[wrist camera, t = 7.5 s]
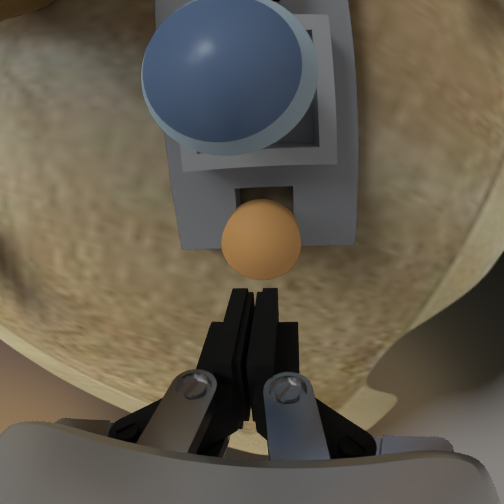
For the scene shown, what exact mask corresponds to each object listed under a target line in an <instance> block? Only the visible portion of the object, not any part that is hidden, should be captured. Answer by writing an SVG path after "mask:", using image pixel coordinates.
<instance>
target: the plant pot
mask: <svg viewBox="0 0 504 504" xmlns="http://www.w3.org/2000/svg"><path fill="white" fill-rule="evenodd" d="M54 1H55V0H0V21H2V20H5V19H8V18H12V17H15V16H19V15H22V14H25V13H29V12H32V11H35V10H39V9H42V8H44V7H46V6H48V5H49V4H51V3H52V2H54Z"/></svg>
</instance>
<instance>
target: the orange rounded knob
mask: <svg viewBox="0 0 504 504" xmlns="http://www.w3.org/2000/svg"><path fill="white" fill-rule="evenodd" d="M221 245H222V251H223V254H224V257H225V259H226V261H227V262H228V264H229V265H230V266H231V267H232V268H233V269H234V270H235V271H236V272H238V273H239V274H241V275H243V276H245V277H248V278H251V279H256V280H269V279H274V278H277V277H279V276H282V275H283V274H285V273H286V272H288V271H289V270H290V269H291V268H292V267H293V266H294V265H295V263H296V262H297V260H298V258H299V255H300V251H301V238H300V230H299V225H298V222H297V220H296V218H295V216H294V215H293V213H292V212H291V211H290V210H289V209H288V208H287V207H285V206H284V205H282V204H281V203H279V202H276V201H274V200H271V199H267V198H263V199H255V200H250V201H248V202H245V203H244V204H242V205H240V206H239V207H238V208H237V209H236V210H234V212H233V213H232V214H231V216H230V218H229V220H228V222H227V224H226V226H225V229H224V231H223V234H222V241H221Z"/></svg>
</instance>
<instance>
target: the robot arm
mask: <svg viewBox="0 0 504 504" xmlns="http://www.w3.org/2000/svg"><path fill="white" fill-rule="evenodd" d="M251 409H252V417H253V421H255V422H256V430H257V432H258V433H259V434H260V435H261V436H263V437H264V438H265V439H266V440H267V445H268V455H269V460H249V459H233V458H223V457H224V454H225V451H226V449H227V446H228V443H229V440H230V435H231V434H233V433H234V432H236V431H237V430H238V429H242V428H243V421H249V417H250V410H251ZM0 504H500V500H499V497H498V494H497V491H496V488H495V486H494V483H493V481H492V479H491V476H490V475H489V473H488V471H487V470H486V468H485V466H484V465H483V464H482V463H481V462H480V461H479V460H477V459H476V458H473V457H471V456H469V455H465V454H461V453H456V452H454V449H453V446H452V445H451V443H450V442H449V441H448V440H446V439H444V438H441V437H415V436H391V435H383V437H382V438H379V437H378V438H377V437H372V436H371V435H370V434H369V433H368V432H366V431H365V430H363V429H362V428H360V427H359V426H357V425H355V424H354V423H352V422H351V421H349V420H348V419H346V418H345V417H343V416H342V415H340V414H339V413H337V412H336V411H334V410H333V409H331V408H330V407H328V406H327V405H325V404H324V403H322V402H321V401H319V400H318V399H316V398H315V395H314V391H313V387H312V385H311V383H310V381H309V380H308V379H307V378H306V377H305V376H303V375H301V374H299V340H298V322H279V312H278V288H263V291H262V292H257V297H256V304H254V294H253V292H248V289H247V288H233V290H232V293H231V297H230V300H229V304H228V307H227V311H226V314H225V318H224V321H223V322H212V323H211V325H210V328H209V331H208V334H207V337H206V340H205V343H204V346H203V349H202V352H201V355H200V358H199V361H198V364H197V368H196V369H193V370H188V371H185V372H183V373H181V374H179V375H178V376H176V378H175V379H174V380H173V381H172V383H171V385H170V387H169V388H168V390H167V392H166V393H165V395H164V397H163V398H162V399H160V400H158V401H156V402H154V403H152V404H150V405H148V406H146V407H144V408H142V409H140V410H138V411H136V412H133V413H131V414H129V415H127V416H126V417H123V418H121V419H119V420H118V421H116V422H115V423H111V422H110V421H109V420H87V419H71V418H63V419H60V420H57V421H56V422H55V423H52V422H45V421H24V422H19V423H15V424H13V425H10V426H9V427H8V428H7V429H6V430H4V431H3V433H2V434H1V435H0Z"/></svg>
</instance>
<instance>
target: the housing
mask: <svg viewBox="0 0 504 504" xmlns="http://www.w3.org/2000/svg"><path fill="white" fill-rule="evenodd" d="M192 1H194V0H155V26H156V30H157V29H158V28H159V26H160V25H161V24H162V23H163V22H164V21H165V20H166V19H167V18H168V17H169V16H170V15H171V14H173V13H174V12H175V11H176V10H178V9H179V8H181V7H182V6H184V5H186V4H187V3H189V2H192ZM276 3H277V4H279V5H281V6H282V7H284V8H286V9H287V10H288V11H289V12H290V13H292V14H293V15H294V16H295V17H296V18H297V19H298V20H299V21H300V23H301V24H302V25H303V26H304V28H305V29H306V31H307V32H308V34H309V36H310V38H311V40H312V42H313V45H314V48H315V51H316V55H317V62H318V79H317V86H316V90H315V93H314V97H313V99H312V102H311V104H310V106H309V108H308V110H307V111H306V113H305V114H304V116H303V118H302V119H301V120H300V121H299V122H298V124H297V125H296V126H295V127H294V128H293V129H292V130H291V131H290V132H289V133H288V134H286V135H285V136H284V137H282V138H281V139H279V140H278V141H277V142H275V143H273V144H271V145H269V146H267V147H265V148H262V149H260V150H257V151H254V152H250V153H246V154H241V155H234V156H219V155H210V154H205V153H201V152H198V151H195V150H192V149H189V148H187V147H185V146H183V145H182V144H180V143H178V142H177V141H175V140H174V139H172V138H171V137H170V136H168V135H167V134H166V133H165V132H164V133H165V141H166V149H167V157H168V165H169V172H170V179H171V186H172V193H173V199H174V205H175V212H176V218H177V224H178V230H179V236H180V241H181V247H182V250H191V249H222V245H221V241H222V234H223V231H224V229H225V226H226V224H227V222H228V220H229V218H230V216H231V214H232V213H233V212H234V210H236V209H237V208H238V207H239V206H240V205H241V197H240V188H255V187H279V186H292V193H293V215H294V216H295V218H296V220H297V222H298V225H299V230H300V238H301V246H330V245H355V240H356V223H357V202H358V106H357V86H356V70H355V57H354V46H353V36H352V27H351V19H350V11H349V4H348V0H279V2H276Z"/></svg>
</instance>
